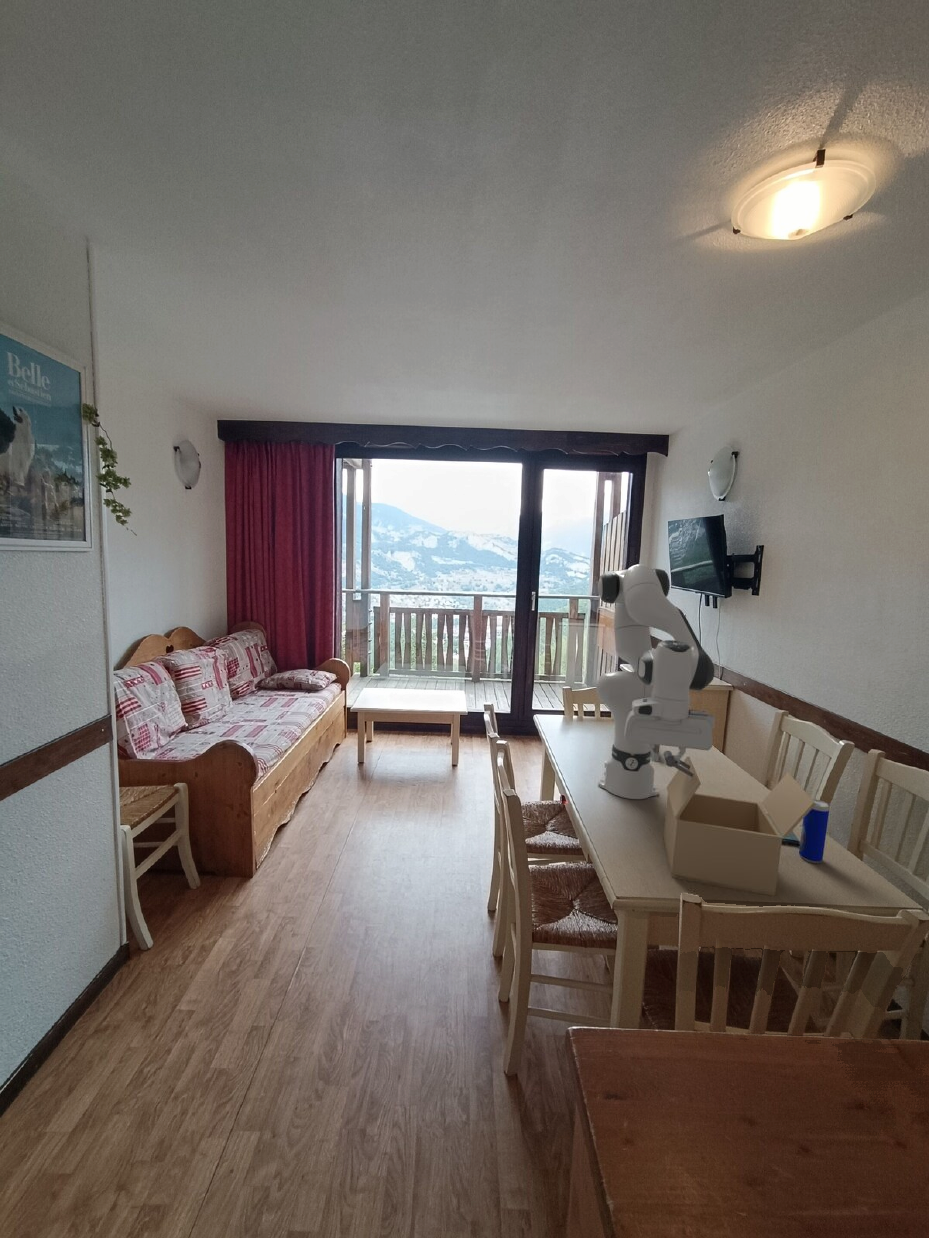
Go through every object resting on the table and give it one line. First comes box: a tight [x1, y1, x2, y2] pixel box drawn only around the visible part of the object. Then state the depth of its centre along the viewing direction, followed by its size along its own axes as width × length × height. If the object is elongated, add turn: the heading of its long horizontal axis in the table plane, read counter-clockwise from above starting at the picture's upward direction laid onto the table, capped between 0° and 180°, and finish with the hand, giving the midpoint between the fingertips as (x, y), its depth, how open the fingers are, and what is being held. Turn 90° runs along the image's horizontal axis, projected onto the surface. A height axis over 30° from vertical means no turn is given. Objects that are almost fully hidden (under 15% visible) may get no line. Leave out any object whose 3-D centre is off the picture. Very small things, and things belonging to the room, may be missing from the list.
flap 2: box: [760, 772, 816, 838], centre depth 126 cm, size 17×10×1 cm
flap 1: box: [663, 750, 702, 818], centre depth 132 cm, size 17×10×7 cm
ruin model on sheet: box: [651, 744, 661, 760], centre depth 207 cm, size 11×3×10 cm, turn 178°
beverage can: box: [798, 798, 830, 864], centre depth 136 cm, size 5×5×15 cm
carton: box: [663, 792, 783, 897], centre depth 131 cm, size 18×22×14 cm
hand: (665, 762), depth 132 cm, fingers open, 3 cm apart
